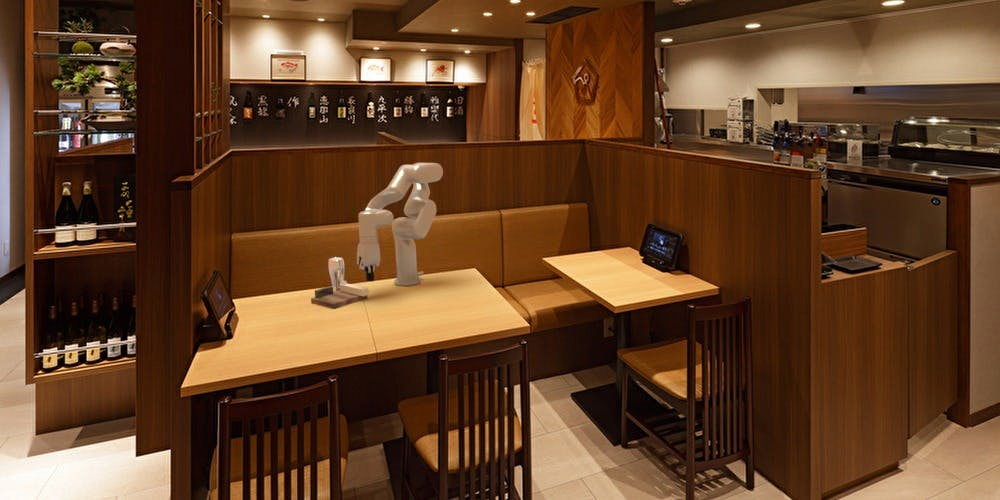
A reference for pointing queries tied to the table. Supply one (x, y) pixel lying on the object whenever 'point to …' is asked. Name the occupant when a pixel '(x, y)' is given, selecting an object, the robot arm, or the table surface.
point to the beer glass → (336, 272)
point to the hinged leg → (353, 289)
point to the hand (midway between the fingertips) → (370, 280)
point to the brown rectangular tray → (334, 298)
